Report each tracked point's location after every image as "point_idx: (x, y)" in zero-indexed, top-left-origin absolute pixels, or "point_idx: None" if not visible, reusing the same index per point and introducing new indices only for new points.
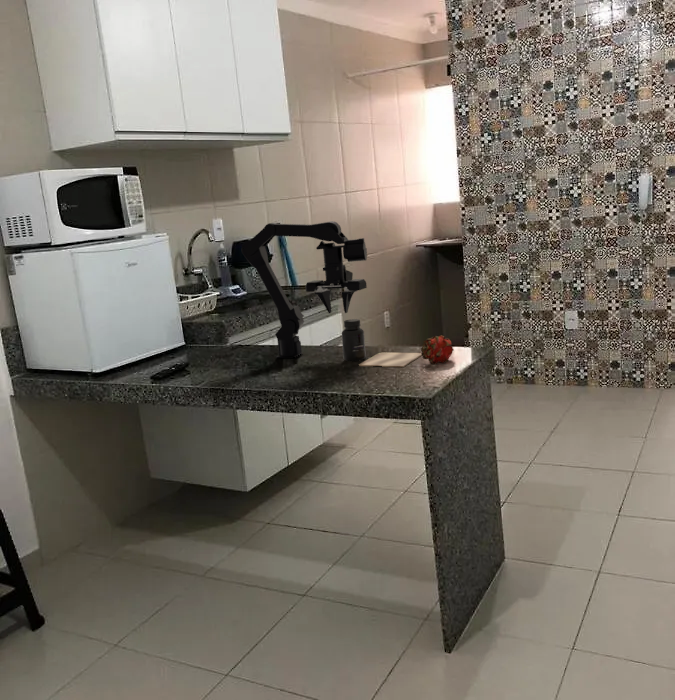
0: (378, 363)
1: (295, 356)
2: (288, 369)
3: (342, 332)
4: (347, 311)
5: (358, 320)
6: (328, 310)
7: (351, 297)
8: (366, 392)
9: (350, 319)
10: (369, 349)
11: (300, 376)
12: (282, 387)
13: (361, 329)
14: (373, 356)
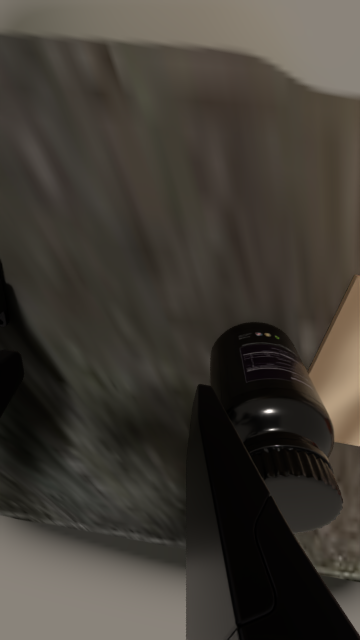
0: (346, 428)
1: (6, 314)
2: (81, 433)
3: None
4: (213, 396)
5: (335, 515)
6: (1, 406)
7: (333, 599)
8: (321, 565)
9: (271, 482)
10: (291, 170)
11: (148, 483)
12: (148, 530)
13: (327, 456)
14: (325, 343)
